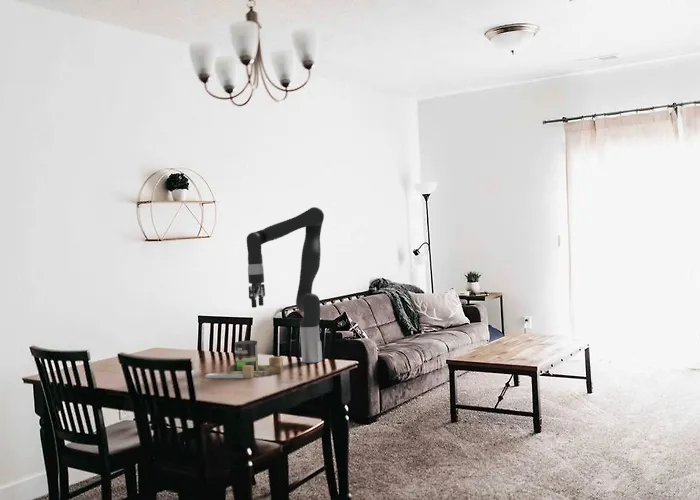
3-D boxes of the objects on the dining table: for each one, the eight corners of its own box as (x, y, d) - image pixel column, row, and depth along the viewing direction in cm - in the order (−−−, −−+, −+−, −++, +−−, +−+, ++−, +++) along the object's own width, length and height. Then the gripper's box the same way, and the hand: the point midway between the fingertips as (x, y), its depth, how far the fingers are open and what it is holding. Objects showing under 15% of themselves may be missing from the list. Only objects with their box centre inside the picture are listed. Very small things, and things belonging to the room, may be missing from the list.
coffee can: (250, 375, 298) (248, 344, 298) (231, 374, 302) (229, 343, 302) (263, 370, 307) (261, 340, 307) (245, 370, 312) (243, 340, 311)
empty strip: (254, 376, 295) (253, 365, 295) (251, 378, 292) (250, 366, 292) (209, 376, 301) (208, 365, 301) (205, 377, 297) (205, 366, 297)
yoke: (288, 369, 308) (287, 354, 307) (275, 376, 293) (274, 360, 293) (241, 369, 314) (241, 354, 314) (227, 376, 299) (226, 360, 299)
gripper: (257, 274, 317) (259, 308, 317) (268, 272, 330) (270, 304, 331) (242, 274, 319) (244, 308, 319) (254, 272, 332) (256, 305, 333)
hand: (257, 306), depth 325 cm, fingers open, 8 cm apart
